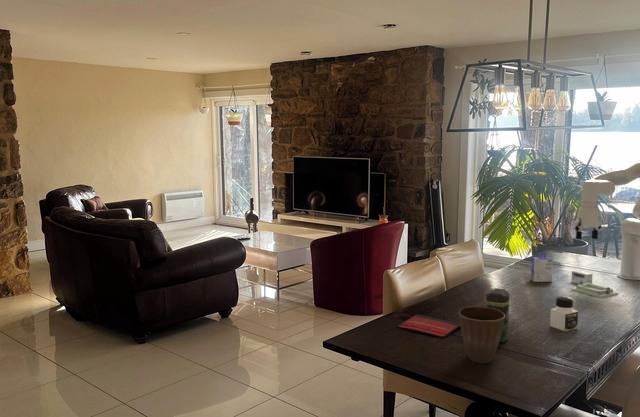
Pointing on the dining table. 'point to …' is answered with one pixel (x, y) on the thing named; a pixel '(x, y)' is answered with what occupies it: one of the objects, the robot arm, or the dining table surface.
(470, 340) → the plant pot
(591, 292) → the tray
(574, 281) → the block
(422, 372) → the dining table surface
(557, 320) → the medicine bottle
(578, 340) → the dining table surface
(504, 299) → the coffee jar
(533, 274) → the ink cartridge box
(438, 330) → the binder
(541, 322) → the dining table surface
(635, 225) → the robot arm
